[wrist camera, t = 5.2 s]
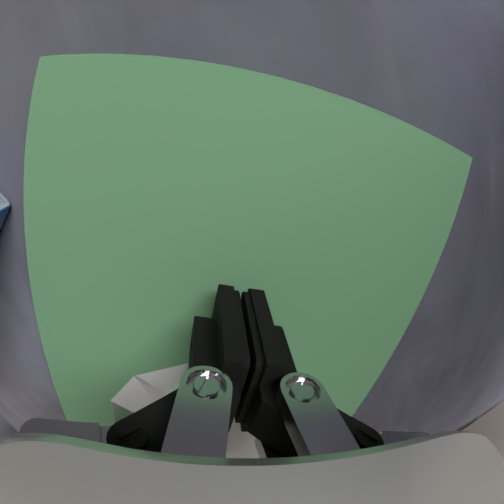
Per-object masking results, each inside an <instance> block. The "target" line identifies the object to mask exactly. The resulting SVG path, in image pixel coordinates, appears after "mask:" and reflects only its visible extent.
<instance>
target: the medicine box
mask: <svg viewBox="0 0 504 504" xmlns="http://www.w3.org/2000/svg"><path fill="white" fill-rule="evenodd" d="M9 208H10V202H9V201H8V200H7V199H6V198H5V197H4V196H3V195H2V193H1V192H0V229H1V227H2V225H3V222H4V220H5V218H6V216H7V213H8V211H9Z"/></svg>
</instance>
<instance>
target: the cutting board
mask: <svg viewBox="0 0 504 504" xmlns="http://www.w3.org/2000/svg"><path fill="white" fill-rule="evenodd" d="M472 159H473V158H472V157H470V156H469V155H467V154H465V153H464V152H462V151H460V150H458V149H457V148H455V147H453V146H451V145H449V144H448V143H446V142H444V141H442V140H440V139H438V138H436V137H434V136H433V135H431V134H429V133H427V132H425V131H423V130H421V129H419V128H416V127H414V126H412V125H410V124H408V123H406V122H404V121H401V120H399V119H397V118H395V117H393V116H390V115H388V114H386V113H383V112H381V111H378V110H376V109H374V108H371V107H369V106H366V105H363V104H361V103H358V102H356V101H353V100H350V99H347V98H345V97H342V96H339V95H336V94H333V93H330V92H327V91H324V90H321V89H318V88H315V87H312V86H308V85H305V84H302V83H298V82H295V81H291V80H287V79H284V78H280V77H276V76H272V75H268V74H264V73H259V72H255V71H251V70H246V69H241V68H236V67H231V66H226V65H220V64H214V63H208V62H202V61H195V60H187V59H179V58H170V57H160V56H148V55H131V54H70V55H54V56H42V57H40V58H39V62H38V67H37V71H36V76H35V81H34V86H33V91H32V97H31V103H30V110H29V117H28V125H27V134H26V145H25V160H24V228H25V243H26V254H27V264H28V272H29V279H30V286H31V293H32V299H33V304H34V310H35V315H36V320H37V324H38V329H39V333H40V338H41V342H42V346H43V350H44V353H45V357H46V361H47V364H48V368H49V371H50V374H51V377H52V381H53V384H54V387H55V390H56V393H57V396H58V399H59V401H60V404H61V407H62V410H63V412H64V415H65V417H66V420H67V421H74V422H92V423H99V425H100V426H112V425H113V424H114V423H116V422H117V421H119V420H121V419H123V418H125V417H127V416H129V415H131V414H132V413H134V412H136V411H138V410H140V409H142V408H144V407H146V406H147V405H149V404H151V403H153V402H155V401H157V400H158V399H160V398H162V397H163V396H164V395H165V393H166V392H167V391H168V390H169V389H170V388H171V387H172V386H173V385H174V384H176V383H177V382H178V381H180V380H181V377H182V376H183V374H184V372H186V371H187V370H188V369H189V354H190V343H191V334H192V328H193V321H194V316H200V317H207V318H212V314H213V309H214V304H215V299H216V294H217V289H218V285H219V284H222V285H229V286H234V290H237V291H239V293H240V299H241V295H242V292H243V291H245V292H247V291H248V289H249V288H251V289H258V290H264V292H265V295H266V299H267V302H268V305H269V309H270V312H271V315H272V319H273V322H274V325H277V326H281V327H282V328H283V330H284V334H285V337H286V340H287V343H288V346H289V349H290V352H291V355H292V358H293V361H294V364H295V367H296V370H297V372H301V373H305V374H309V375H311V376H313V377H315V378H316V379H317V380H319V381H320V382H321V383H322V385H323V386H324V388H325V389H326V391H327V393H328V394H329V396H330V398H331V400H332V401H333V403H334V405H335V406H336V408H337V409H339V410H341V411H342V412H344V413H346V414H348V415H349V416H351V417H352V416H353V414H354V413H355V412H356V410H357V409H358V407H359V406H360V405H361V403H362V402H363V400H364V399H365V397H366V396H367V394H368V393H369V391H370V390H371V388H372V387H373V385H374V384H375V382H376V380H377V379H378V377H379V376H380V374H381V372H382V371H383V369H384V368H385V366H386V364H387V363H388V361H389V359H390V358H391V356H392V354H393V352H394V351H395V349H396V347H397V345H398V344H399V342H400V340H401V338H402V336H403V335H404V333H405V331H406V329H407V327H408V325H409V323H410V322H411V320H412V318H413V316H414V314H415V312H416V310H417V308H418V306H419V304H420V302H421V300H422V297H423V295H424V293H425V291H426V289H427V287H428V285H429V282H430V280H431V278H432V276H433V273H434V271H435V269H436V266H437V264H438V262H439V259H440V257H441V254H442V252H443V249H444V247H445V244H446V241H447V239H448V236H449V233H450V231H451V228H452V225H453V222H454V219H455V216H456V214H457V211H458V207H459V204H460V201H461V198H462V195H463V191H464V188H465V185H466V181H467V178H468V174H469V170H470V166H471V163H472Z"/></svg>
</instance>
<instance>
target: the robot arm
mask: <svg viewBox="0 0 504 504" xmlns="http://www.w3.org/2000/svg"><path fill="white" fill-rule="evenodd" d="M234 418H235V422H236V423H240V425H241V432H249V433H250V434H251V435H253V436H254V437H255V446H256V449H257V452H258V454H259V457H260V458H226V451H227V441H228V433H229V431H230V428H231V425H232V423H233V420H234ZM0 504H504V459H503V458H502V456H501V455H500V454H499V452H498V450H497V449H496V448H495V447H494V445H493V444H492V443H491V442H490V441H489V440H488V438H486V437H485V436H483V435H481V434H478V433H474V432H468V431H448V432H440V433H435V434H428V433H425V432H397V431H381V432H380V433H378V432H377V431H375V430H374V429H373V428H371V427H369V426H367V425H366V424H364V423H362V422H360V421H358V420H356V419H355V418H353V417H351V416H349V415H348V414H346V413H344V412H342V411H341V410H339V409H337V408H336V406H335V405H334V403H333V401H332V400H331V398H330V396H329V394H328V393H327V391H326V389H325V388H324V386H323V385H322V383H321V382H320V381H319V380H317V379H316V378H315V377H313V376H311V375H309V374H305V373H301V372H297V370H296V367H295V364H294V361H293V358H292V355H291V352H290V349H289V346H288V343H287V340H286V337H285V334H284V330H283V328H282V327H281V326H277V325H274V322H273V319H272V315H271V312H270V309H269V305H268V302H267V299H266V295H265V292H264V290H258V289H251V288H249V289H248V291H247V292H245V291H243V292H242V295H241V299H240V293H239V291H237V290H234V286H229V285H222V284H219V285H218V289H217V294H216V299H215V304H214V309H213V314H212V318H207V317H200V316H194V321H193V328H192V334H191V343H190V354H189V369H188V370H187V371H186V372H184V374H183V376H182V377H181V380H180V384H179V387H178V389H176V390H175V391H173V392H171V393H169V394H167V395H166V396H164V397H162V398H160V399H158V400H157V401H155V402H153V403H151V404H149V405H147V406H146V407H144V408H142V409H140V410H138V411H136V412H134V413H132V414H131V415H129V416H127V417H125V418H123V419H121V420H119V421H117V422H116V423H114V424H113V425H112V426H100V425H99V423H92V422H74V421H61V420H51V419H42V418H35V419H30V420H28V421H26V422H25V423H24V424H23V425H22V426H21V429H20V432H19V433H16V434H10V435H5V436H1V437H0Z"/></svg>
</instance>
